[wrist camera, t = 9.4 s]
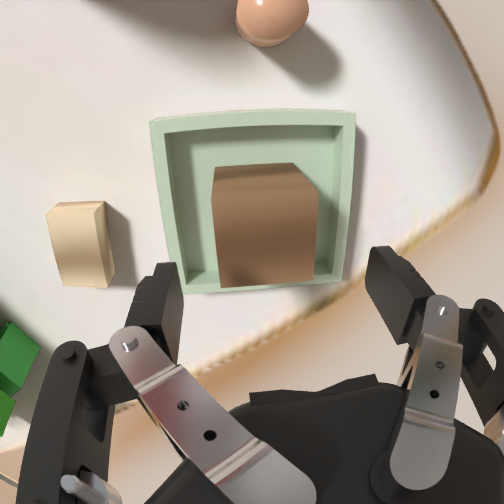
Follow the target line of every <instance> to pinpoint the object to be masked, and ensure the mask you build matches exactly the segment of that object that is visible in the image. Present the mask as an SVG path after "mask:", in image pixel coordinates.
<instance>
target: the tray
mask: <svg viewBox="0 0 504 504" xmlns="http://www.w3.org/2000/svg"><path fill="white" fill-rule="evenodd" d="M149 126H150V135H151V144H152V152H153V160H154V168H155V175H156V182H157V189H158V195H159V202H160V208H161V214H162V220H163V226H164V232H165V237H166V243H167V248H168V253H169V258H170V262H176V264H177V268H178V273H179V278H180V283H181V288H182V292H183V294H200V293H215V292H230V291H243V290H256V289H268V288H280V287H291V286H302V285H313V284H323V283H333V282H341V280H342V274H343V266H344V259H345V251H346V243H347V234H348V225H349V216H350V205H351V194H352V181H353V167H354V150H355V127H356V113H352V112H347V111H343V110H325V109H255V110H234V111H219V112H207V113H196V114H187V115H178V116H170V117H162V118H157V119H154V120H152V121H150V122H149ZM269 163H294V164H295V166H296V167H297V168H298V169H299V170H300V171H301V172H302V174H303V175H304V176H305V177H306V178H307V179H308V181H309V182H310V183H311V184H312V185H313V186H314V188H315V189H316V190H317V191H318V192H319V196H318V217H317V235H316V250H315V264H314V277H313V281H303V282H292V283H281V284H269V285H257V286H245V287H232V288H221V287H220V279H219V270H218V262H217V253H216V244H215V234H214V225H213V215H212V205H211V194H212V186H213V177H214V170H215V167H221V166H234V165H250V164H269Z"/></svg>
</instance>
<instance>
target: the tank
mask: <svg viewBox="0 0 504 504" xmlns="http://www.w3.org/2000/svg"><path fill="white" fill-rule="evenodd" d="M40 348H41V347H40V346H39V345H38V344H37V343H36V342H34V341H33V340H32V339H31V338H30V337H29V336H27V335H26V334H25V333H24V332H23V331H22V330H21V329H20V328H18V327H17V326H16V325H15V324H14V323H13V322H11V324H9V323H8V322H6V323H5V325H4V326H3V328H2V329H1V331H0V437H2V436H3V433H4V430H5V428H6V425H7V422H8V419H9V417H10V414H11V412H12V409H13V407H14V404H15V402H16V401H15V400H13V399H12V398H11V396H12V395H14V394H15V393H16V392H17V391H19V390H20V389H21V388H22V386H23V384H24V381H25V379H26V377H27V375H28V373H29V371H30V368H31V366H32V364H33V362H34V360H35V358H36V356H37V354H38V352H39V350H40Z"/></svg>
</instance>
